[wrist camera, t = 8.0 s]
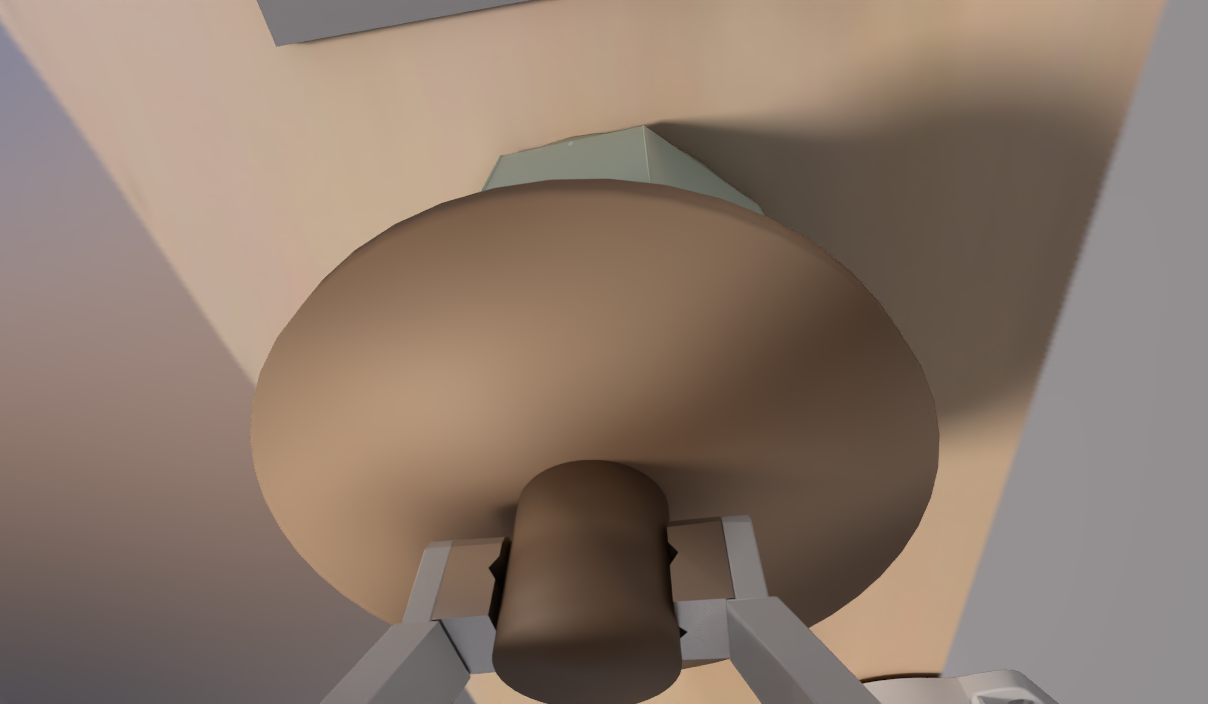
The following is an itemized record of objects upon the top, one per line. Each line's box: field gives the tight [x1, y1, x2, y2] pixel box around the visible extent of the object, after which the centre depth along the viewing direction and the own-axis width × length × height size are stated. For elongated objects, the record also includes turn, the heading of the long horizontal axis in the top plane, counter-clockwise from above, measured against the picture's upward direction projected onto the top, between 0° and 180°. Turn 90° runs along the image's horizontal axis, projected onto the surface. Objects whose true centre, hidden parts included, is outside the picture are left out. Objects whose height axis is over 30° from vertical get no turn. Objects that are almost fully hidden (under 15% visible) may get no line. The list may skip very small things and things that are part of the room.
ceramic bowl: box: [481, 125, 764, 215], centre depth 17 cm, size 10×10×6 cm
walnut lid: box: [250, 178, 939, 704], centre depth 11 cm, size 13×13×4 cm
